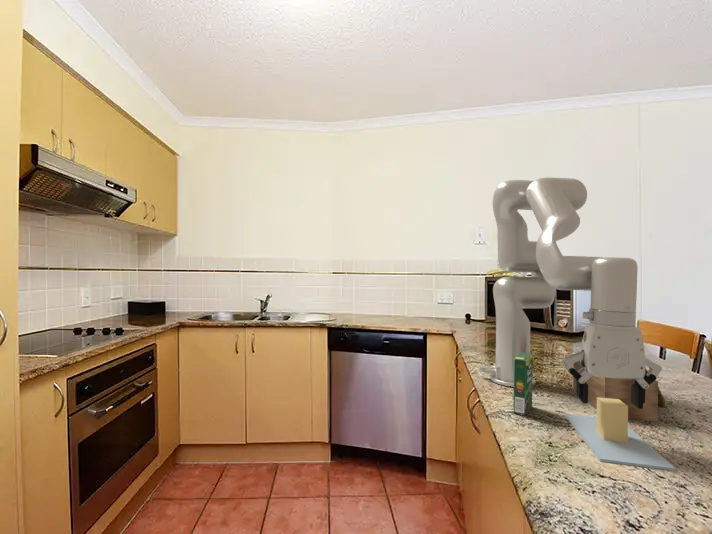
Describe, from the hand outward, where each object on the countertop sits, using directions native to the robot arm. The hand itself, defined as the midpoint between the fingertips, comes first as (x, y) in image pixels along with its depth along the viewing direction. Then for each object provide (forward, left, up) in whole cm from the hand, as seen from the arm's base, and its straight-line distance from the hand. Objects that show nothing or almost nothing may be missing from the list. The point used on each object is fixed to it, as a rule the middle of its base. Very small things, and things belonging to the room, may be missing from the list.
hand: (609, 403), depth 74 cm
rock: (+20, +28, -7) cm, 36 cm away
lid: (0, -1, -7) cm, 7 cm away
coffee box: (-14, +11, -7) cm, 19 cm away
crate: (+9, +22, -7) cm, 25 cm away
